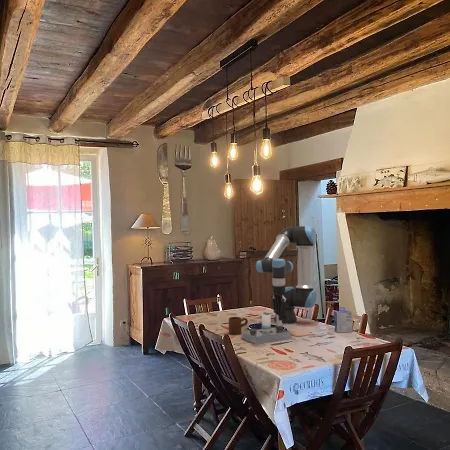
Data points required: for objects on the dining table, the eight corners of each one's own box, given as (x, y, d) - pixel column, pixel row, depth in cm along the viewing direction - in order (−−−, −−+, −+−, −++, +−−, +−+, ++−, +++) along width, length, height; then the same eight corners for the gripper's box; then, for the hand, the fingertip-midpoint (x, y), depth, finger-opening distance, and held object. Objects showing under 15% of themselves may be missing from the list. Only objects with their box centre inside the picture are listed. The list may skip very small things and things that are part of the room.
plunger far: (274, 334, 263) (274, 325, 263) (280, 333, 265) (280, 325, 265) (278, 336, 260) (278, 327, 260) (284, 335, 262) (284, 326, 262)
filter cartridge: (260, 338, 259) (260, 312, 259) (267, 337, 262) (267, 311, 262) (265, 340, 255) (264, 313, 255) (272, 339, 257) (272, 313, 257)
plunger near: (248, 338, 255) (248, 329, 255) (254, 337, 257) (254, 328, 257) (251, 339, 251) (251, 330, 251) (257, 339, 253) (257, 329, 253)
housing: (242, 338, 259) (242, 331, 259) (276, 333, 270) (276, 327, 270) (255, 344, 246) (255, 336, 246) (290, 338, 258) (290, 331, 258)
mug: (246, 331, 278) (246, 316, 278) (249, 334, 270) (249, 318, 270) (227, 332, 275) (227, 317, 275) (230, 335, 267) (230, 319, 267)
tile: (285, 333, 272) (285, 332, 272) (301, 330, 278) (301, 329, 278) (298, 337, 261) (297, 336, 261) (314, 334, 267) (314, 333, 267)
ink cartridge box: (349, 330, 279) (348, 306, 279) (352, 332, 273) (352, 308, 273) (333, 330, 277) (333, 307, 277) (337, 332, 272) (336, 308, 272)
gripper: (267, 284, 267) (267, 324, 266) (279, 287, 255) (280, 328, 255) (277, 283, 270) (278, 323, 270) (290, 286, 259) (291, 327, 258)
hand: (279, 325), depth 262 cm, fingers closed
